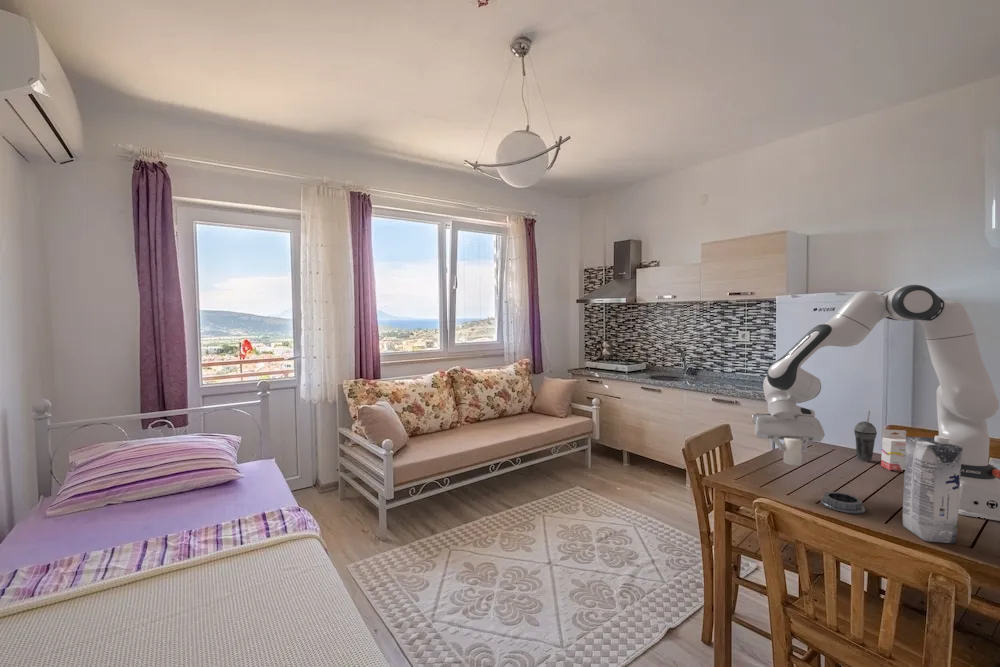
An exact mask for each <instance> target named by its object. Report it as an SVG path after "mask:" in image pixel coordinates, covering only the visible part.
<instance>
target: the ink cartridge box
mask: <svg viewBox="0 0 1000 667" xmlns="http://www.w3.org/2000/svg"><path fill="white" fill-rule="evenodd" d="M894 433H896V434H894ZM906 437H907V430H902V429H901V430H900V429H884V430H883V435H882V438H881V439H882V443H881V459H880V467H881V466H882V467H881V468H883V467H884V468H883V469H885V468H886V469H885V470H887V469H888V470H887V471H889V470H905V452H906Z"/></svg>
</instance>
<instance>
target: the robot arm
mask: <svg viewBox="0 0 1000 667" xmlns="http://www.w3.org/2000/svg"><path fill="white" fill-rule="evenodd" d="M883 319H888V320H892V321H902V322H905V321H906V322H908V321H909V322H910V321H917V322H918V323H919V325H920V326H921V327H922V329H923V331H924V336H925V341H926V344H927V345H926V346H927V349H928V354H929V357H930V362H931V365H932V366H933V369H934V372H935V374H936V377H937V379H938V382H939V385H938V387H937V388H936V416H937V427H938V436H942V437H947V438H949V439H950V440H949V444H953V445H957V446H960V447H962V448H963V450H962V456H961V474H960V493H959V511H958V515H962V516H966V517H972V518H978V517H980V518H981V519H984V518H985V519H986V520H992V521H997V522H1000V479H999V478H1000V469H998V468H997V467H995V466H994V465H993V464H992V465H991V464H990V463H989V459H990V458H989V456H990V440H991V439H990V435H989V431H988V424H987V420H988V419H990V418H992V417H993V416H994V415H996V414H997V412H998V411H999V409H1000V400H999V399H998V396H997V393H996V390H995V387H994V386H993V382H992V380H991V378H990V375H989V373H988V370H987V368H986V365H985V363H984V361H983V357H982V354H981V351H980V347H979V343H978V340H977V336H976V332H975V329H974V328H975V327H974V326H973V323H972V319H971V317H970V316H969V313H968V311H967V310H966V308H965V306H964V305H963V304H961V303H960V302H958V301H954V300H944V299H943V298H941V297H940V296H938V295H937V293H936V292H934V290H932V289H930V287H927V286H925V285H920V284H910V285H909V284H908V285H901V286H898V287H895V288H894V289H891V290H888V291H886V292H883V293H881V294H879V293H877V292H874V291H870V290H861V291H858V292H857V293H855V294H854V295H853V296H851V297H850V298H848V300H847V301H845V303H844V304H843V305H842V306H841V307H840V308H839V309H838V310H837V312H836V313H835V314H834V315H833V316H832V317H831V318H830V319H828V320H827V321H826V322H824V323H822V324H818V325H816V326H814V327H813V328H811V330H809V331H808V332H807V333H806V334H805V335H803V336H802V337H801V339H799V340H798V342H796V343H795V345H793V347H791V348H790V349H789V350H788V351H787V352H786V353H785V354H784V355H782V356H781V357H780V358H778V359H777V360H775V361H773V363H771V364H770V366H769V367H768V369H767V371H766V372H767V373H766V376H765V377H764V379H763V384H762V390H763V393H764V394H763V395H764V399H765V401H766V403H767V411H768V413H755V414H752V417H751V419H752V420H751V421H752V424H754V434H755V437H757V439H761V440H762V439H767V440H772V442H773V443H774V444H775V445H776V446H777V447H778V450H779V451H783V452H784V450H785V444H784V443H783V442H781V441H780V440H783V441H784V438H785V437H794V438H799V439H801V440H802V453H806V452H808V446H807V445H808V444H809V442H817V443H818V442H819V443H820V442H822V441H823V439H824V438H825V430H824V428H823V425H822V423H821V421H820V420H819V419H818V418H817V417H815V416H816V411H814V410H813V409H809V408H806V407H802V406H799V405H797V404H802V403H805V402H809V401H811V400H813V399H815V398H817V397H818V396H819V394H820V393H821V391H822V390H821V389H822V383H821V380H820V379H819V377H817V376H815V375H813V374H812V373H811V372H809V371H807V370H805V369H803V368H801V366H802V365H803V364H804V363H805V362H806V361H808V359H810V357H812V356H813V355H814V353H816V352H817V351H819V349H821V348H824V347H828V346H829V347H840V348H841V347H842V348H847V347H854V346H857V345H859V344H860V343H861V342H863V341H864V340H865V338H866V337H867V336H868V335H869V334H870V333H871V331H872V330H873V329H874V328H875V327H876V326H877V324H878V323H879V322H880V321H883ZM980 518H979V519H980Z"/></svg>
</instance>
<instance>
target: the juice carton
mask: <svg viewBox="0 0 1000 667" xmlns="http://www.w3.org/2000/svg"><path fill="white" fill-rule="evenodd" d="M949 440H950V439H949V438H947V437H942V436H939V435H934V437H926V436H925V437H924V436H906V452H905V472H903V473H904V475H903V478H904V479H903V497H902V498H903V500H902V526H903V527H904V528H905V529H906V530H908V531H910V532H911V533H913V534H914V535H915V536H917V537H918V538H919V539H921V540H922V541H925V542H931V543H941V544H942V543H944V544H953V545H954V544H956V543H957V540H958V539H957V537H958V528H959V527H958V526H959V513H958V511H959V493H960V474H961V456H962V450H963V448H962V447H960V446H957V445H953V444H949Z"/></svg>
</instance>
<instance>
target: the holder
mask: <svg viewBox="0 0 1000 667" xmlns="http://www.w3.org/2000/svg"><path fill="white" fill-rule="evenodd" d="M820 504H821V505H822V506H824V507H825V508H828V509H830V510H833V511H835V510H836V512H839V511H840V512H839V513H843V512H844V513H845V514H849V515H861V514H863V513H866V508H865V506H864V505H863V500H862V499H861V498H859V497H858V496H855V495H852V494H850V493H845V492H839V491H827V492H824V493H823V497H822V498H820Z"/></svg>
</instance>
